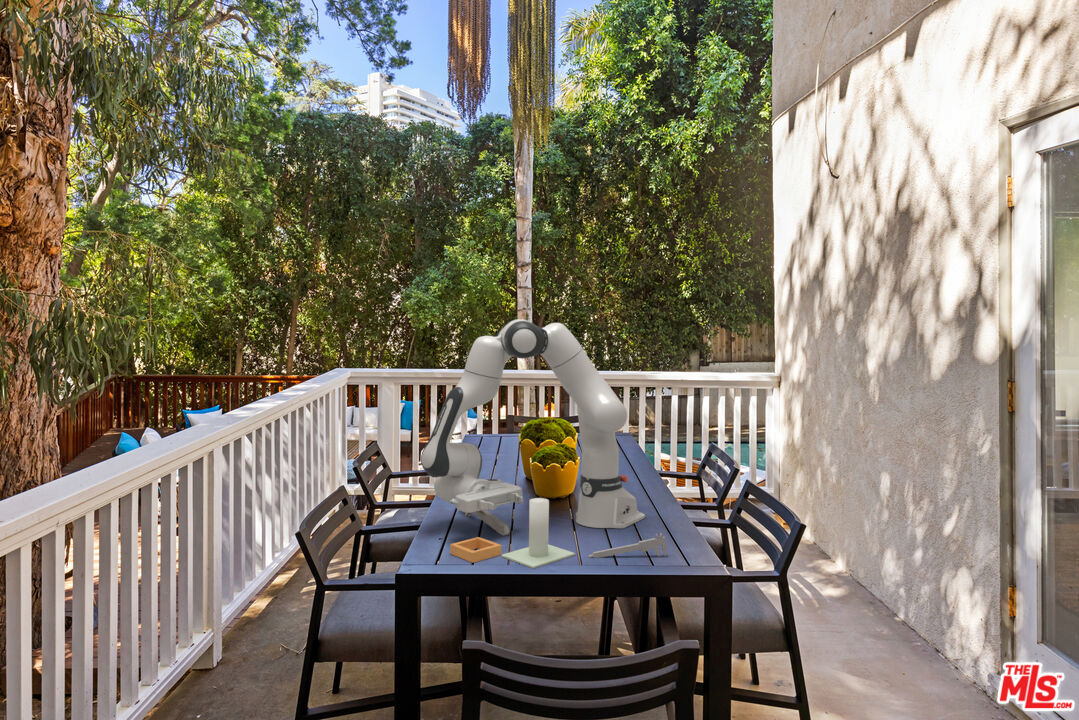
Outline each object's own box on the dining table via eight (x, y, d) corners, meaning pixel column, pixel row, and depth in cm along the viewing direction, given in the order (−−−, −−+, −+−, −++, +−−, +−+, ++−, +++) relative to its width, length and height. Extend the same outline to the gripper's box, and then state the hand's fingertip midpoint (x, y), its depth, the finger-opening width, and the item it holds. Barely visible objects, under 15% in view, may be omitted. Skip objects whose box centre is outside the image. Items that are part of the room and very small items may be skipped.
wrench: (503, 546, 204) (456, 509, 229) (509, 545, 205) (461, 509, 230) (505, 519, 203) (458, 485, 228) (510, 518, 204) (463, 484, 229)
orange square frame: (478, 546, 195) (478, 536, 194) (501, 554, 188) (501, 545, 188) (450, 553, 188) (450, 544, 188) (472, 562, 181) (472, 553, 181)
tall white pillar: (538, 549, 190) (539, 496, 189) (552, 554, 187) (553, 500, 186) (524, 553, 187) (525, 500, 186) (538, 558, 183) (539, 504, 182)
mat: (543, 544, 196) (543, 542, 196) (575, 555, 188) (575, 553, 188) (501, 556, 186) (501, 554, 186) (533, 568, 177) (533, 566, 177)
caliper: (665, 556, 188) (666, 532, 188) (666, 557, 187) (667, 533, 187) (587, 557, 187) (588, 533, 186) (588, 559, 186) (588, 535, 185)
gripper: (446, 489, 198) (477, 498, 188) (502, 477, 212) (535, 485, 202) (446, 512, 199) (478, 522, 189) (502, 499, 213) (535, 508, 203)
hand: (508, 503), depth 196 cm, fingers open, 8 cm apart
